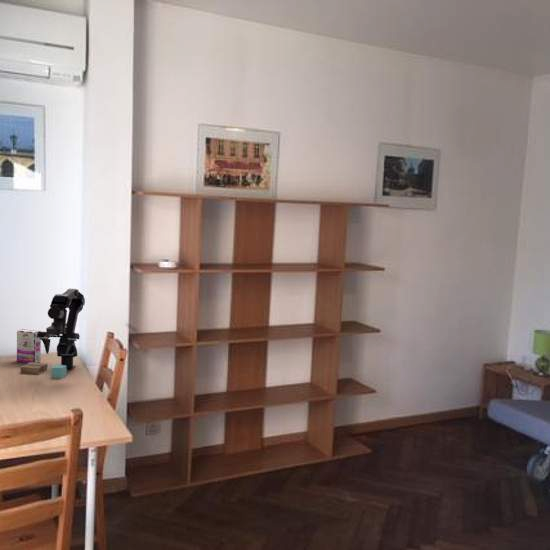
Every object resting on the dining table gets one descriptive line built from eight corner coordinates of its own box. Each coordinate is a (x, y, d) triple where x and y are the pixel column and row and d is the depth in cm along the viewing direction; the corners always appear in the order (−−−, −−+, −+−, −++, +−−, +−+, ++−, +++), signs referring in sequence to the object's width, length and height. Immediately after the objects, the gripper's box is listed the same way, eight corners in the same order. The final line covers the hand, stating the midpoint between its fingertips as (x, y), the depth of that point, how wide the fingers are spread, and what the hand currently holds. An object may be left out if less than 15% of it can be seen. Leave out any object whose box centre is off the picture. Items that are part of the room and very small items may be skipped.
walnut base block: (30, 368, 298) (30, 362, 297) (47, 369, 297) (47, 363, 296) (20, 372, 289) (20, 366, 288) (38, 374, 288) (38, 368, 287)
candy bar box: (41, 362, 310) (41, 330, 308) (34, 364, 305) (34, 332, 303) (22, 359, 313) (23, 328, 311) (16, 361, 308) (16, 330, 306)
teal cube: (56, 374, 289) (56, 364, 288) (66, 375, 288) (66, 365, 288) (51, 377, 284) (51, 367, 283) (61, 378, 283) (61, 368, 283)
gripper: (32, 318, 278) (29, 352, 276) (71, 319, 276) (68, 354, 274) (44, 320, 289) (40, 353, 287) (81, 321, 287) (78, 354, 285)
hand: (56, 353), depth 283 cm, fingers open, 9 cm apart
